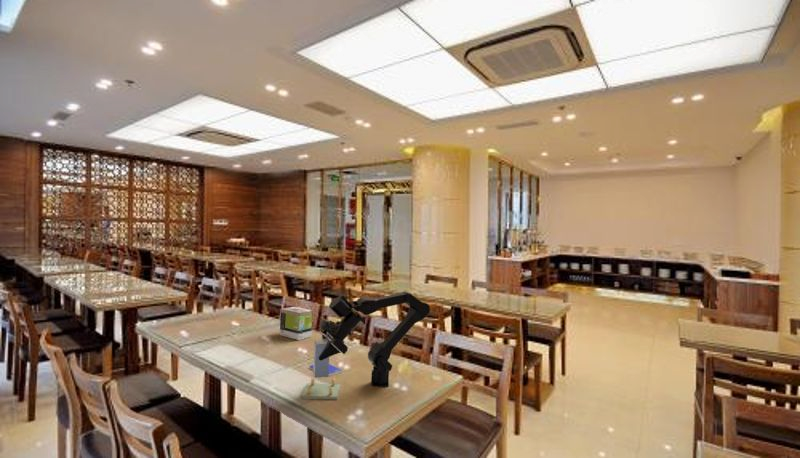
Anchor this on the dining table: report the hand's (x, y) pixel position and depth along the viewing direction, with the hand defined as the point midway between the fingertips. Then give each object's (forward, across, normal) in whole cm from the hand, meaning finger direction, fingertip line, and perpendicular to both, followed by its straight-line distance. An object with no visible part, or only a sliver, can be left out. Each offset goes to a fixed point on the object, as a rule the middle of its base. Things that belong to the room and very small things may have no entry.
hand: (317, 357), depth 145 cm
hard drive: (+4, -20, +16) cm, 26 cm away
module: (+4, 0, +6) cm, 7 cm away
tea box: (+6, -73, +13) cm, 75 cm away
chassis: (+8, +1, +10) cm, 13 cm away
